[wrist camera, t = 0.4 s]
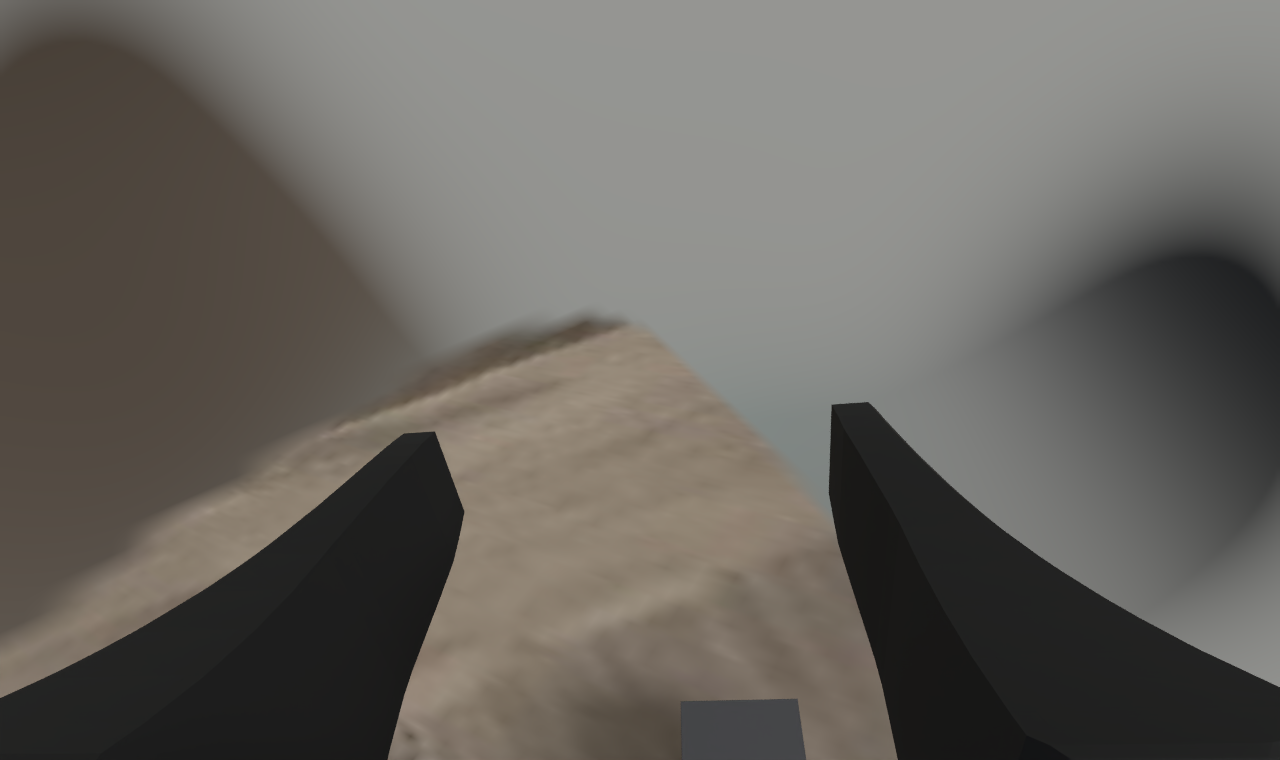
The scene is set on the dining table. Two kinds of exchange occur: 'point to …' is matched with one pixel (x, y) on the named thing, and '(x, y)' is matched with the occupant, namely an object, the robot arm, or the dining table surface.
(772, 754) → the plug
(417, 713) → the dining table surface
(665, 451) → the dining table surface
